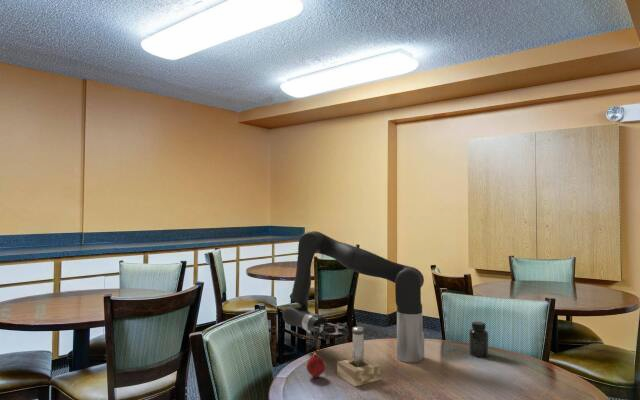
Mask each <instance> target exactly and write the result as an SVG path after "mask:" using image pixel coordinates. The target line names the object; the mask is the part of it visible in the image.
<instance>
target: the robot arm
mask: <svg viewBox="0 0 640 400" xmlns="http://www.w3.org/2000/svg"><path fill="white" fill-rule="evenodd" d="M316 254H318V255H319V254H320V255H324V256H326V257H330V258H332V259H334V260H335V261H337V262H338V263H339V264H340V265H342V266H343V267H345V268H346V269H349V270H350V271H353V272H355V273H359V275H360V274H361V275H364V276H367V277H368V276H370V277H374V278H380V279H383V280H387V281H389V282H392V283H394V284H395V285H394V289H395V291H394V293H395V294H394V295H395V305H396V359H397V360H399V361H401V362H404V363H419V362H422V361H423V359H425V332H424V331H423V304H422V299H421V298H422V297H421V296H422V295H421V294H422V293H421V292H422V291H421V289H422V287H423V286H424V282H425V278H424V274H423V273H422V272H421V271H420V270H419V269H418V268H416V267H413V266H409V265H405V264H402V263H401V264H400V263H397V262H395V261H391V260H389V259H386V258H385V257H383V256H380V255H377V253H373V252H370V251H368V250H366V249H363V248H361V247H358V246H354V245H351V244H349V243H345V242H341V241H338V240H336V239H334V238H332V237H330V236H328V235H326V234H324V233H322V232H320V231H318V230H317V231H316V230H315V231H314V230H312V231H307V232H304V233H303V234H301V236H300V237H299V240H298V248H297V260H296V270H295V271H296V272H295V278H294V282H293V286H292V287H293V288H292V292H291V296H290V297H291V298H290V299H291V301H292V302H295V303H296V304H297V303H298V304H299V305H298V306H287V307H285V309H283V312H282V319H283V321H284V323H285V324H287V325H289V326H294V327H298V328H301V329H303V330H305V331H306V332H307V335H308V336H310V337H311V338H313V339H318V338H319V339H323V340H326V341H329V340H330V335H337V336H338V335H343V336H345V337H347V338H348V337H350V335H351V330H350V329H348V328H349V327H348V325H346V324H343V323H341V322H336V324H335V323H332V322H330V321H329V320H328V318H326V317H324V316H322V315H321V314H318V313H315V312H312V311H309V302H308V301H309V296H310V291H311V284H312V274H311V273H312V272H311V271H312V269H311V267H312V264H313V263H312V262H313V260H314V257H315V255H316Z"/></svg>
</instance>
